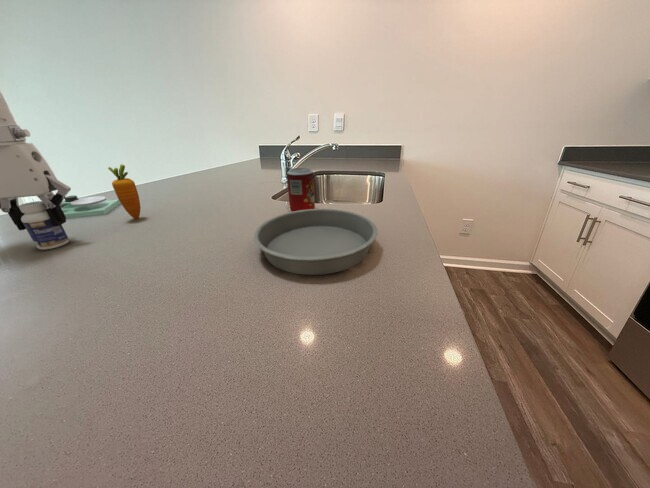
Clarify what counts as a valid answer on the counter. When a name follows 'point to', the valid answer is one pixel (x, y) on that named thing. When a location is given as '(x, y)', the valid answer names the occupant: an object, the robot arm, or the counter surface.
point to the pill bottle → (42, 226)
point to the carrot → (126, 192)
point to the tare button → (70, 198)
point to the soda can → (301, 189)
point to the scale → (88, 208)
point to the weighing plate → (88, 201)
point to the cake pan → (316, 240)
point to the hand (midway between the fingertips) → (43, 225)
